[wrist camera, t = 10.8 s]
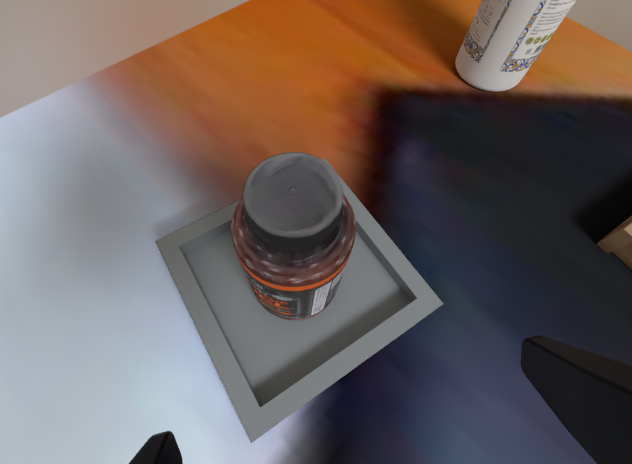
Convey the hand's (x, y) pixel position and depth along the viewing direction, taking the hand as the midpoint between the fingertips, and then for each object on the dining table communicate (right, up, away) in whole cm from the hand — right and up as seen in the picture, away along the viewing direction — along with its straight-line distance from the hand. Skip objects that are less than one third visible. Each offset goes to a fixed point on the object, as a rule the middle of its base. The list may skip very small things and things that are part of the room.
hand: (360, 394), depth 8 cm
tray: (-3, +1, +15) cm, 16 cm away
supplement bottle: (-3, +1, +15) cm, 15 cm away
